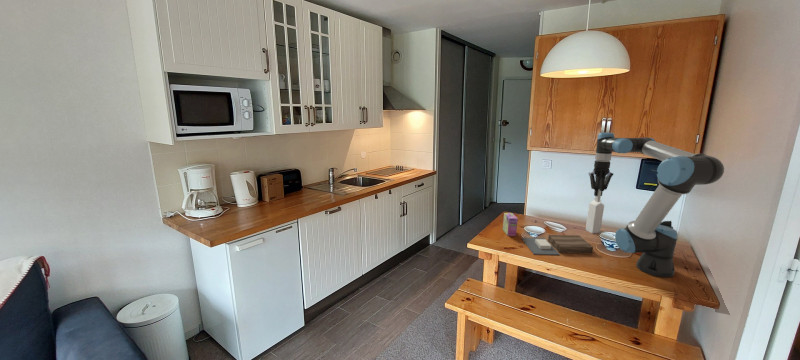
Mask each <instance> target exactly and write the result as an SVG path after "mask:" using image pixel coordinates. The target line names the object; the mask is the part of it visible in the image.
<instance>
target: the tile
mask: <svg viewBox="0 0 800 360" xmlns="http://www.w3.org/2000/svg"><path fill="white" fill-rule="evenodd" d="M547 241H548V240H547V239H546V238H545V239H535V243H536V244H537V245H538V247H539V248H540V249H551V245H550V244H549V243H550V242H549V241H548V242H549V243H548V242H547Z"/></svg>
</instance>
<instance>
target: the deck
mask: <svg viewBox="0 0 800 360" xmlns="http://www.w3.org/2000/svg"><path fill="white" fill-rule="evenodd" d="M547 239H548V240H547V241H548V242H549V243H550V244H551V245H552V246H553V248H554V249H555V250H556V251H557V252H558V253H559V254H561V253H562V254H588V255H589V254H593V250H594V246H593V245H591V243H590V242H588V241H587V240H586V239H584V238H583V237H582V236H581V235H579V234H578V235H572V234H570V235H569V234H566V235H565V234H548V238H547Z"/></svg>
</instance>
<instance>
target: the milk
mask: <svg viewBox="0 0 800 360" xmlns="http://www.w3.org/2000/svg"><path fill="white" fill-rule="evenodd" d="M604 210H605V204H603V203H602V199H600V202H596V201H595V197H594V198H593V200H592V201H590V202H589V204H588V209H587V216H586V225H585V231H587V232H589V233H590V234H601V228H602V222H603V216H604Z"/></svg>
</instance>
